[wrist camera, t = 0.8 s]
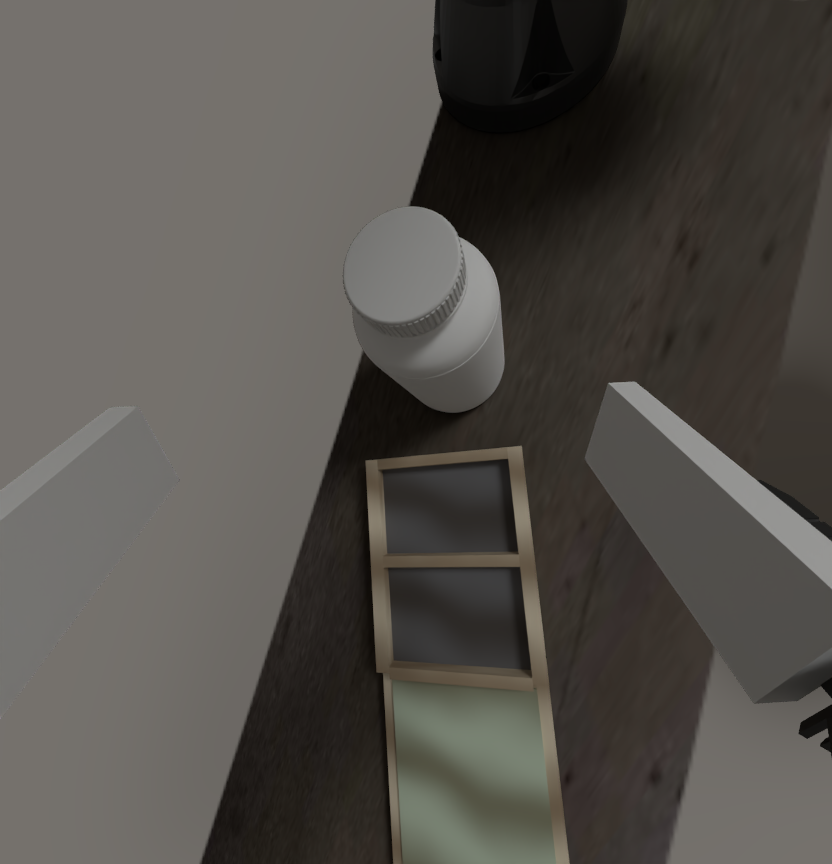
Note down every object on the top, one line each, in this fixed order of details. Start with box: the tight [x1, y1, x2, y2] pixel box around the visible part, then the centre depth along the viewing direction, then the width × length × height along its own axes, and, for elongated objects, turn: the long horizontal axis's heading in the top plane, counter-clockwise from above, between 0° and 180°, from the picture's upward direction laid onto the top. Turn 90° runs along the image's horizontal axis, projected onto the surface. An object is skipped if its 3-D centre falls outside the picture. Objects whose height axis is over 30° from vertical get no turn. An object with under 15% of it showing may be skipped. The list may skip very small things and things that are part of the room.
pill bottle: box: [343, 206, 504, 413], centre depth 22 cm, size 8×8×15 cm
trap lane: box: [366, 446, 569, 864], centre depth 25 cm, size 30×12×2 cm, turn 4°
